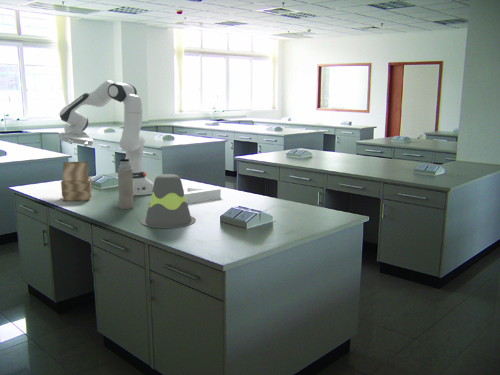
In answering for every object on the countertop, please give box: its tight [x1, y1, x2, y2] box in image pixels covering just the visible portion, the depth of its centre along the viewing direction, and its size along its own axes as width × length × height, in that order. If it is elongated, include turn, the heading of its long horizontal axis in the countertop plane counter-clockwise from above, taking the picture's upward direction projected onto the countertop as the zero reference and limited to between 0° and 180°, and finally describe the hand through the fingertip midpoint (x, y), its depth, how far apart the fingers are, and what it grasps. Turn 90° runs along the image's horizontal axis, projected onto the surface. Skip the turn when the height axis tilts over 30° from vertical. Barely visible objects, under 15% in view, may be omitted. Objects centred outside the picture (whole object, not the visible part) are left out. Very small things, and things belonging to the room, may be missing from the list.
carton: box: [60, 176, 93, 202], centre depth 275 cm, size 16×14×12 cm
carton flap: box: [61, 161, 89, 182], centre depth 271 cm, size 14×14×1 cm
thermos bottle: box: [117, 158, 135, 210], centre depth 253 cm, size 8×8×28 cm
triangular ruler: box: [182, 185, 222, 204], centre depth 283 cm, size 30×26×6 cm
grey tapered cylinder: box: [140, 173, 197, 229], centre depth 226 cm, size 28×28×24 cm
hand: (78, 144), depth 282 cm, fingers open, 8 cm apart
